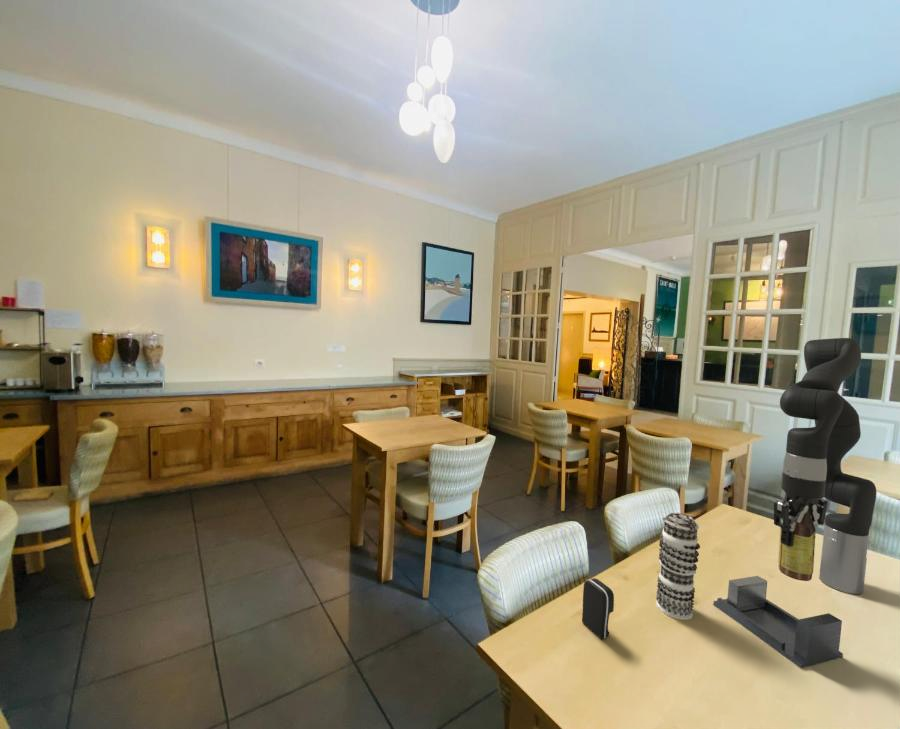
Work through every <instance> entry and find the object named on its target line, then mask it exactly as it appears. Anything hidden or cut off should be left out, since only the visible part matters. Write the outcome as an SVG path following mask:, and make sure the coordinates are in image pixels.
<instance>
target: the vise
mask: <svg viewBox="0 0 900 729" xmlns="http://www.w3.org/2000/svg"><path fill="white" fill-rule="evenodd" d="M712 605H713V606H715V607H716V608H717V609H719V610H720V611H721V612H723V613H725V615H727V616H728V617H730V619H732V620H734V621H736V623H738V625H741V626H742V627H744V628H745V629H746V630H747V631H749V632H750V633H752V634H753V635H755V636H756V637H757V638H759V639H760V640H761V641H763V642H764V643H766V644H767V645H768V646H770V647H771V649H773V650H775V651H776V652H778V653H779V654H781V655H782V656H783V657H785V658H786V659H788V661H790V662H791V663H793V664H794V665H796V666H797V667H798V668H799V669H804V668H808V667H812V666H815V665H819V664H824V663H828V662H832V661H836V660H840V659H843V657H844V653H843V652H841V651H840V645H841V634H842V627H843V626H842V624H843V620H841V619H840V618H837V617H836V616H835V615H833V614H831V613H824V614H819V615H814V616H809V617H805V618H800V619H799V618H798V617H797V616H794V615H792V614H791V613H789V612H788V611H786V610H784V609H783V608H781V607H780V606H779V605H777V604H775V603H773V602H772V601H771V600H768V599H767V598H766V602H765V607H761V608H756V609H750V610H745V611H739V610H737V609H736V608H735V607H733V606H732V605H730V604H729V603H727V598H724V599H723V598H722V597H717V600H713V603H712Z"/></svg>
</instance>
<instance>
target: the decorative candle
mask: <svg viewBox="0 0 900 729" xmlns="http://www.w3.org/2000/svg"><path fill="white" fill-rule="evenodd" d="M662 520H663V521H664V523H663V528H662V532H661V533H660V535H659V554H658V555H659V557H658V560H659V564H660V570H659V576H658V577H657V589H656V597H655V599H656V601H655V604H656V607H657V609H658V610H659V611H660V612H662V613H663V614H664V615H666V616H668V617H670V618H672V619H676V620H681V621H688V620H690V619H692V618H693V613H694V612H693V611H694V609H693V608H694V606H695V604H694V602H695V601H694V599H695V592H696V588H695V580H694V577H695V576H694V575H695V574H696V573H697V569H698V567H697V563H698V562H699V558H698V557H699V556H700V553H699V551H698V550H699V549H700V548H701V545H700V543H698V541H699V540H698V538H699V537H698V530H699V529H700V525H699V524H698V523H697V522H696V521H695V520H694V518H693V517H692V516H689V515H688V514H685V513H682V512H681V513H680V512H670V513H668V514H667V515H665V516H663V519H662Z"/></svg>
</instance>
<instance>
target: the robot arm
mask: <svg viewBox="0 0 900 729" xmlns="http://www.w3.org/2000/svg"><path fill="white" fill-rule="evenodd" d="M803 357H804V365H805V368H806V373H804V375H803V377H802V379H801V380H799V381H798V382H796V383H794V384H792V385H790V386H788V387H787V388H786V389H785V390H784V391H783V393H782V394H781V396H780V399H779V406H780V409H781V411H782V413H784V414H785V415H786V416H789V417H792V418H798V419H805V420H812V421H814V426H812V427H794V428H790V429H789V430H788V432H787V436H786V447H785V454H784V458H783V463H782V464H783V466H782V477H781V484H780V485H781V490H782V491H784V492H785V494H786V495H785V497H784V500H783V501H780V500H774V502H773V524H774V525H775V526H777V527H779V528H780V527H781V543H782V544H785V545H787V546H789V547H790V546H793V541H794V529H795V527H796V525H797V524H798V523H800V522H801V520H802V518H803V516H804V514H805V513H806V512H807V510H808V506H807V505H805V504H804V500H803V498H808V499H811V501H810V505H809V510H810V515H811V518H812V520H813V523H814V526H815V529H816V530H817V529H818V528H819V526H820V525H821V526H823V525H824V527H823V537H822V547H821V557H820V565H819V566H820V567H819V574H818V575H819V578H818V579H819V580H820V581H821V582H822V583H823V584H825V585H827V586H829V587H830V588H833V589H835V590H837V591H840V592H842V593H847V594H852V595H861V594H862V593H863V592H864V590H863V589H865V588H864V587H865V578H866V571H867V570H866V569H867V568H866V567H867V562H868V561H867V555H868V554H867V553H868V547H869V546H868V543H869V536H870V529H871V526H872V522H873V518H874V517H873V516H874V512H875V511H874V510H875V505H876V501H877V487H876V484H875V483H874V482H873V481H871V480H870V479H867V478H864V477H863V478H862V477H859V476H855V475H852V474H848V473H845V472H843V471H842V465H841V464H842V460H843V458H844V457H845V456H846V455H847V453H848V452H850V451H851V450H852V449H853V448H854V447H855V446H856V445H857V443H858V442H859V441H860V439H861V436H862V433H861V431H862V430H861V424H860V423H861V422H860V417H859V414H858V411H857V410H856V409H855V407H854V406H853V405H852V404H851V403H849V401H847V400H846V399H845V398H844V397H843V396H842V395H840V394H839V391H840V388H841V386H842V384H843V383H844V381H846V379H848V378H849V377H850V376H851V375H852V374H853V373H854V372H856V371H857V369H858V368H859V367H860V364H861V362H862V361H861V360H862V351H861V347H860V344H859V342H858V340H856V339H855V338H851V337H836V338H820V339H811V340H808V341H806V342H805V344H804V347H803ZM824 498H825V499H824ZM828 501H830V502H832V503H835V504H838V505H840V506H844V507H847V508H850V510H849V512H848V513H840V512H839V513H838V512H831V513H828V514H827V510H828V509H827V508H828V503H829V502H828ZM789 513H790V514H791V515H793V516H796V517H791V516H789ZM781 518H782V519H781ZM789 520H791V523H790V525H789Z"/></svg>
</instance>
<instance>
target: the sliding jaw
mask: <svg viewBox="0 0 900 729" xmlns="http://www.w3.org/2000/svg"><path fill="white" fill-rule="evenodd" d="M767 587H768V581H767V580H766V579H765V578H763V577H761V576H759V575H754V576H749V577H748V576H747V577H741V578H736V579H729V580H728V587H727V588H728V589H727V598H726V599H727V603H729V604H730V605H732V606H733V607H735V608H736V609H737V610H739V611H745V610H750V609H756V608H761V607H765V602H766V599H767V592H768V591H767V590H768V588H767Z"/></svg>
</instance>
